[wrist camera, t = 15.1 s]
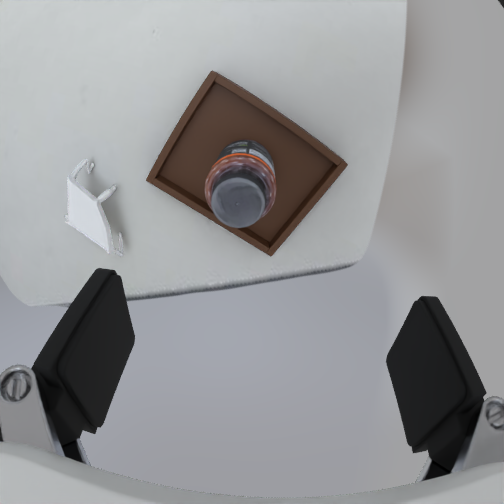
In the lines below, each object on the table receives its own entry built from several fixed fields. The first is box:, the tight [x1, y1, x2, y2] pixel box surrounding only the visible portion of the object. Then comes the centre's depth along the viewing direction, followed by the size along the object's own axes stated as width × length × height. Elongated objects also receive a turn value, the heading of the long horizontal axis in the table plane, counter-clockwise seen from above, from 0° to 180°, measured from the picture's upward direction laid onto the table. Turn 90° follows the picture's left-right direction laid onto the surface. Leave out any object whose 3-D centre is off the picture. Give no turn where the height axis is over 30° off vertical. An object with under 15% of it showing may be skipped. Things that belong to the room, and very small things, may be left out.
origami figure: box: [65, 158, 123, 256], centre depth 33 cm, size 12×8×5 cm
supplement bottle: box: [205, 139, 277, 228], centre depth 27 cm, size 6×6×11 cm
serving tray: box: [146, 71, 348, 256], centre depth 32 cm, size 17×14×2 cm
